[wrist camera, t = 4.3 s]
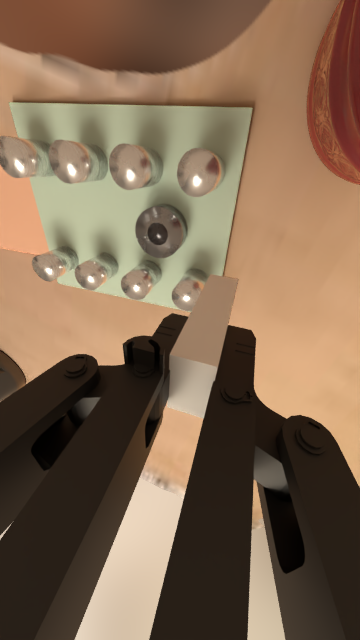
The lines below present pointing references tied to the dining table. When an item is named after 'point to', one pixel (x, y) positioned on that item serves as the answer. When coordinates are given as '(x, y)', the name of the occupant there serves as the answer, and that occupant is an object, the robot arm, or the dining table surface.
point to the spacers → (129, 173)
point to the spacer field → (126, 205)
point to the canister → (337, 94)
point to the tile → (20, 217)
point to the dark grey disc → (161, 230)
